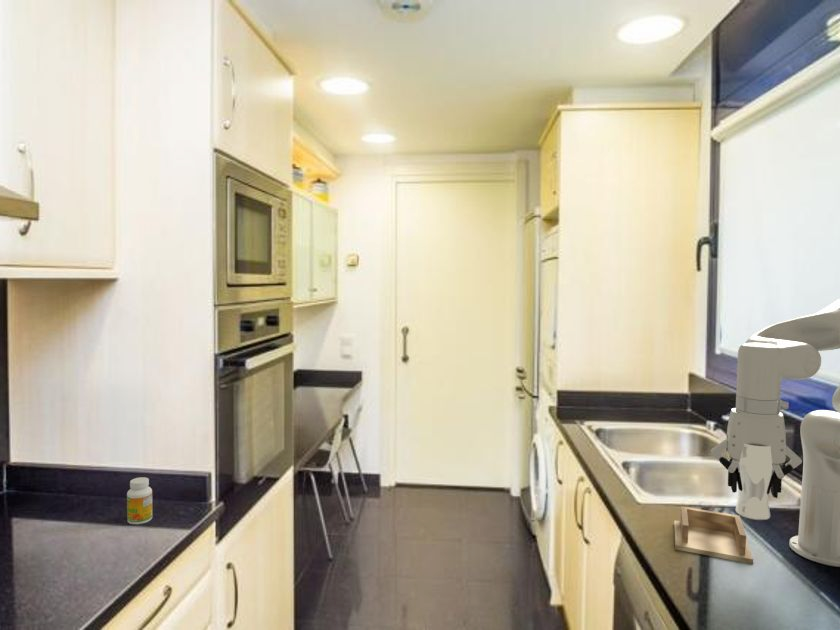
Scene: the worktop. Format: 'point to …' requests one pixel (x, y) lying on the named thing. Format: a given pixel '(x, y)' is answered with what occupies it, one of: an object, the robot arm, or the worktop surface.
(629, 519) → the worktop surface
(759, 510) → the beer glass
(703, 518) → the glass rest
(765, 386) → the robot arm
